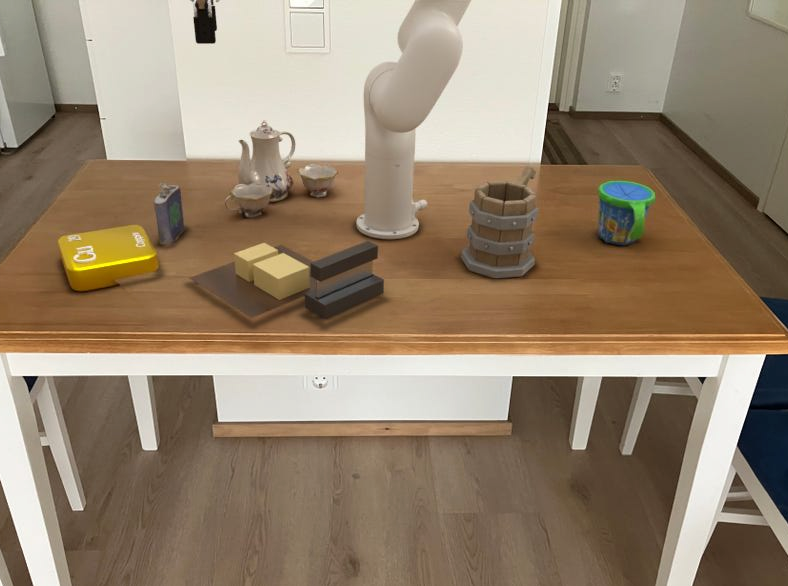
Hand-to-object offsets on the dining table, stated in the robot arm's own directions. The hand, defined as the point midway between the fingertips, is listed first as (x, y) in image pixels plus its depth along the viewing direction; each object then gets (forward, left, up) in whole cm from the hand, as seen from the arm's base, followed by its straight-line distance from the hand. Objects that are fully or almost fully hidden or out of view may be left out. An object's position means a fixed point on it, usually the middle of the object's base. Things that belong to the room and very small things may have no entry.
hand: (206, 36), depth 131 cm
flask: (+8, -7, -37) cm, 38 cm away
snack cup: (-58, +51, -37) cm, 86 cm away
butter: (+6, +25, -35) cm, 44 cm away
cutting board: (+6, +21, -37) cm, 43 cm away
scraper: (+1, +36, -37) cm, 51 cm away
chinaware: (-19, -9, -37) cm, 42 cm away
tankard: (-35, +41, -37) cm, 66 cm away
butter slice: (+6, +19, -35) cm, 40 cm away
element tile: (+23, -3, -37) cm, 44 cm away
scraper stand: (+1, +36, -37) cm, 51 cm away
